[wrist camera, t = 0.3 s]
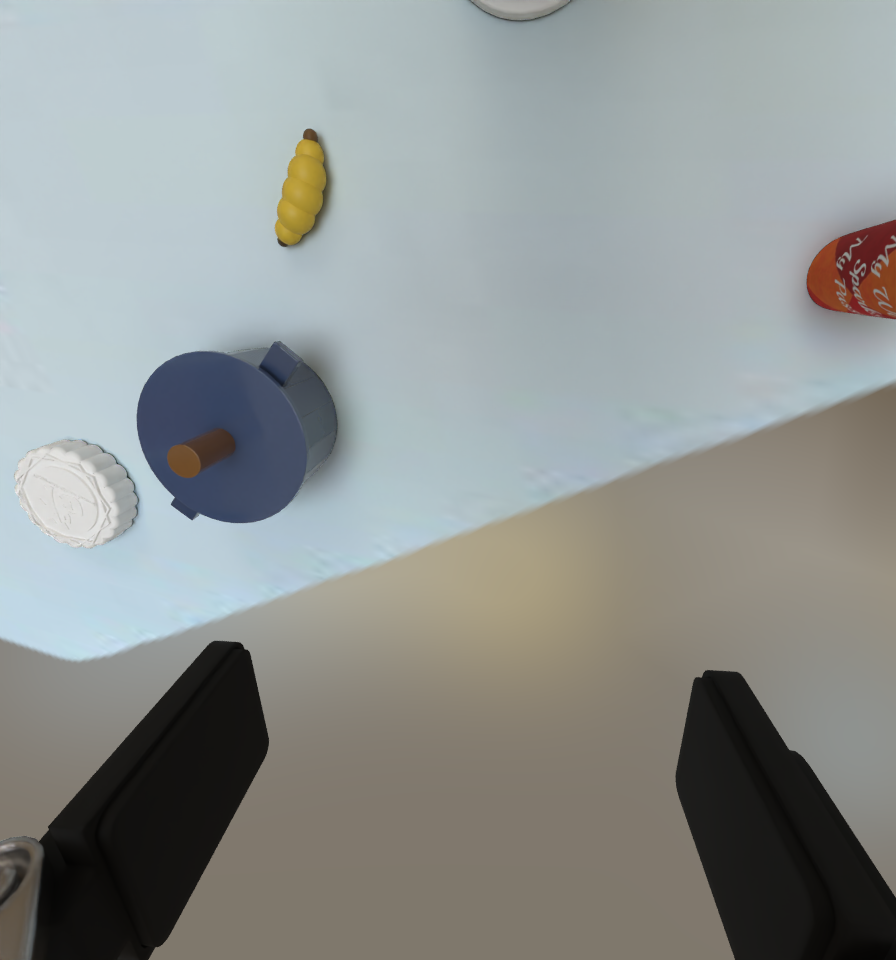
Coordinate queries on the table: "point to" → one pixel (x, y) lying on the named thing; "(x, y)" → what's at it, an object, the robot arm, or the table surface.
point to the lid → (223, 436)
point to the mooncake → (76, 493)
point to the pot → (305, 396)
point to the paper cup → (857, 273)
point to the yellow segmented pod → (301, 191)
